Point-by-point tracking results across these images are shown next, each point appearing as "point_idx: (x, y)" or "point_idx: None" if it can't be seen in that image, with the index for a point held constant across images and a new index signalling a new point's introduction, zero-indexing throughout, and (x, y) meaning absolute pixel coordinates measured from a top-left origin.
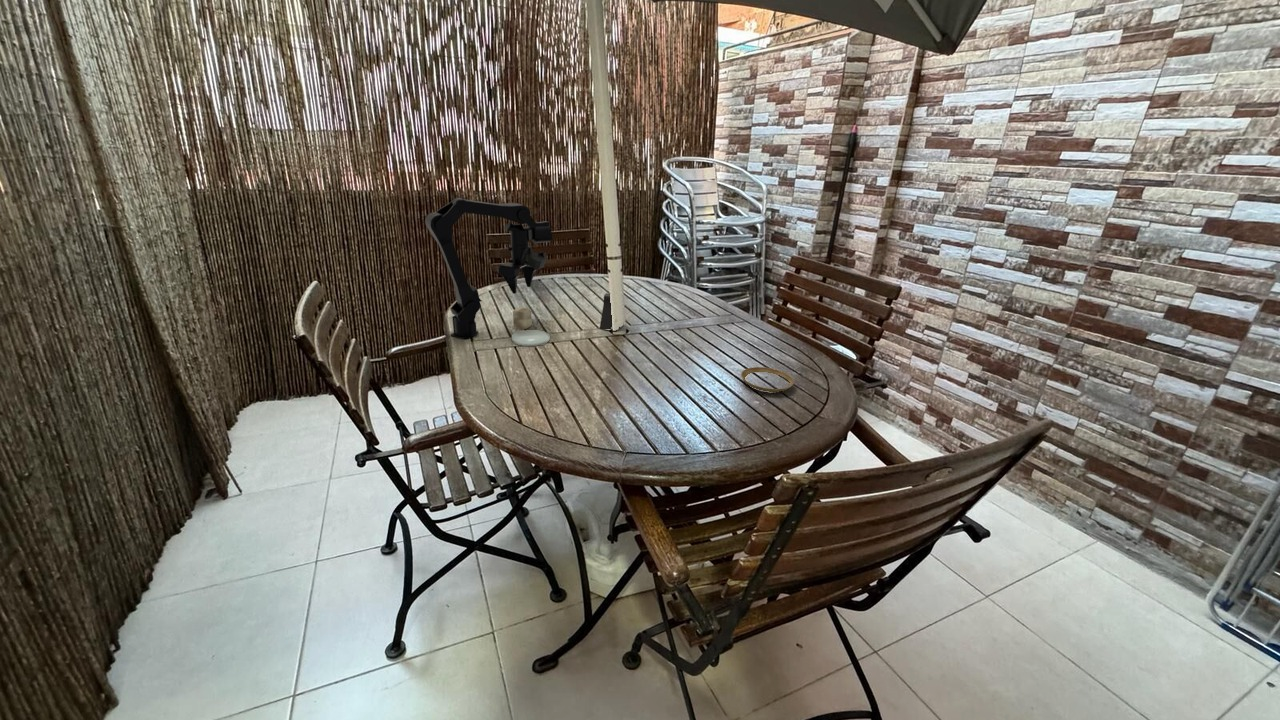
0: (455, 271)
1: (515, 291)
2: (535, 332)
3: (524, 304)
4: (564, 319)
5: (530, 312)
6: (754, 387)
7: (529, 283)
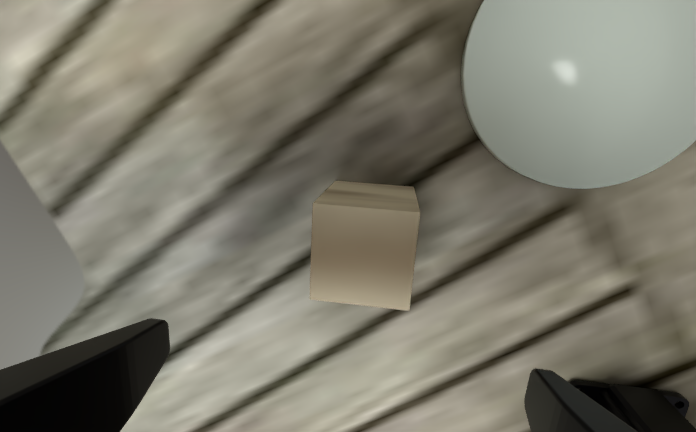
0: None
1: (572, 388)
2: (511, 67)
3: None
4: (146, 38)
5: (329, 199)
6: None
7: (132, 352)
